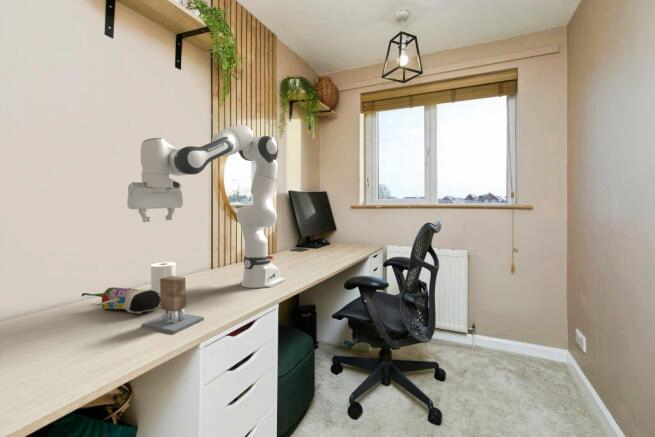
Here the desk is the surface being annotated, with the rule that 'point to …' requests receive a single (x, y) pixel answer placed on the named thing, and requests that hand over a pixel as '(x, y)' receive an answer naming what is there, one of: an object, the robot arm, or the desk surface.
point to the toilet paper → (161, 273)
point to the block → (173, 293)
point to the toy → (128, 299)
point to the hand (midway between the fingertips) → (158, 221)
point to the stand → (172, 321)
